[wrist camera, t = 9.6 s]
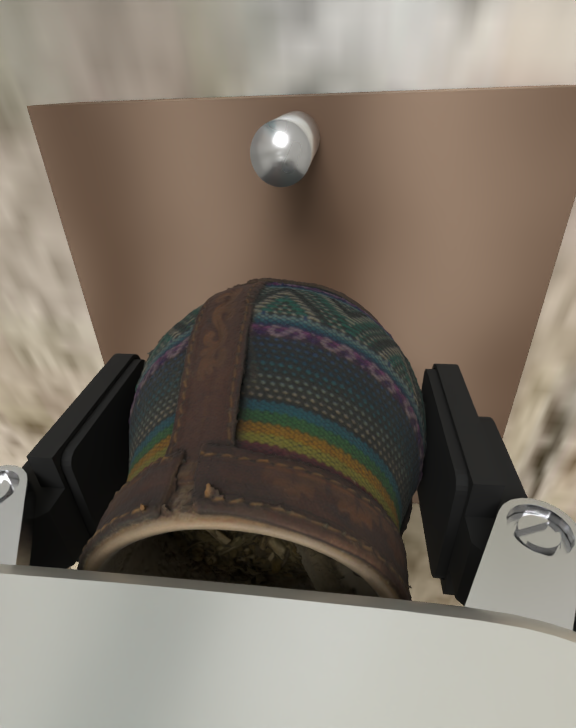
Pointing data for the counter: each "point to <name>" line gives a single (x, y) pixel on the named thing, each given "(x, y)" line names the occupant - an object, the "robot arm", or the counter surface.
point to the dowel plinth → (325, 212)
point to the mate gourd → (270, 448)
